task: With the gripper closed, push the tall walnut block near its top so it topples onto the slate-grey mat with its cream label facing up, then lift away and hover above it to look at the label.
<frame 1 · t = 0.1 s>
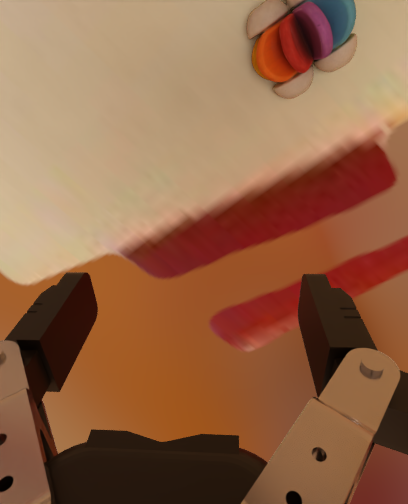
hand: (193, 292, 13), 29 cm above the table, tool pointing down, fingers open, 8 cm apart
multicoloured rounded cluster: (296, 38, 33), on the table
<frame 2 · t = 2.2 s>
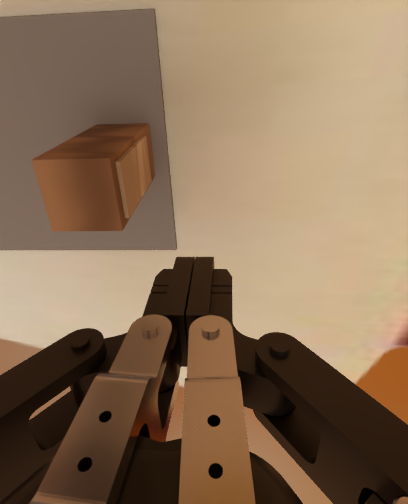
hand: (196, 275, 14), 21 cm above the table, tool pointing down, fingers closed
slate mat: (57, 151, 33), on the table
walnut block: (126, 151, 32), resting on slate mat
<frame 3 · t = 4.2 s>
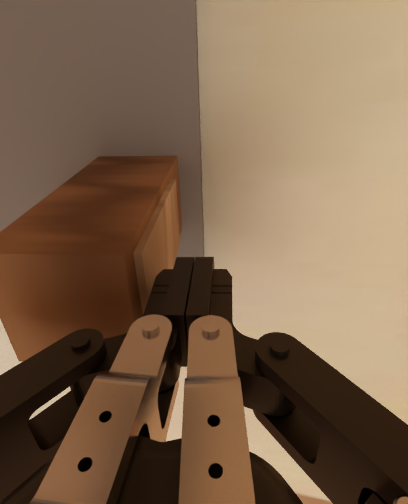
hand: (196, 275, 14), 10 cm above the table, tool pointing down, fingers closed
slate mat: (42, 192, 23), on the table
walnut block: (142, 194, 22), resting on slate mat, touching gripper
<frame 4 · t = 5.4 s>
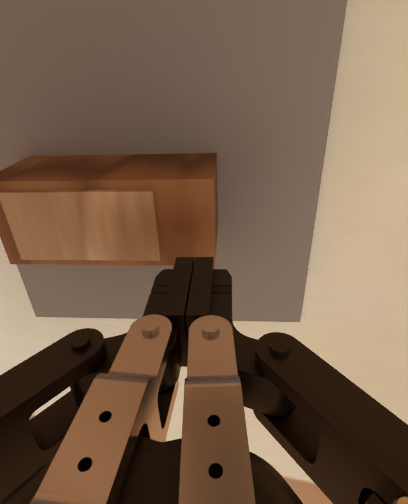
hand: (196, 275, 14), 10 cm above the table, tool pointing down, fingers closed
slate mat: (150, 190, 23), on the table
walnut block: (216, 206, 20), point 3 cm above the table, tilted 90°, touching slate mat
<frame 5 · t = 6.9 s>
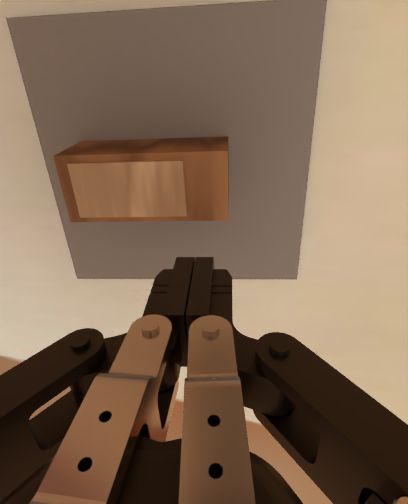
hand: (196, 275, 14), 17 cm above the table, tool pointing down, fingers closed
slate mat: (175, 167, 29), on the table
walnut block: (228, 176, 26), point 3 cm above the table, tilted 90°, touching slate mat
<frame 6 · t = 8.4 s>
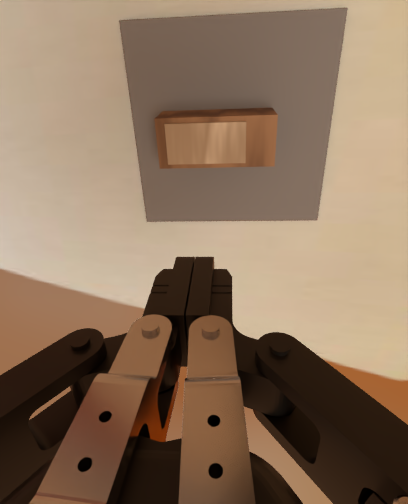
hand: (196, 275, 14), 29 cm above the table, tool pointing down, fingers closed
slate mat: (230, 131, 39), on the table
walnut block: (273, 136, 36), point 3 cm above the table, tilted 90°, touching slate mat
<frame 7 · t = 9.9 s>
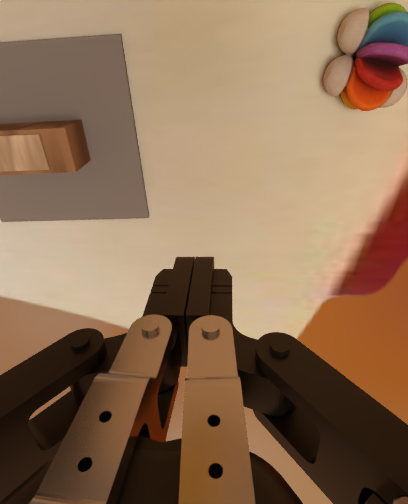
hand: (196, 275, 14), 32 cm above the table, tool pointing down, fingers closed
slate mat: (53, 141, 44), on the table
multicoloured rounded cluster: (365, 59, 37), on the table
walnut block: (78, 145, 41), point 3 cm above the table, tilted 90°, touching slate mat
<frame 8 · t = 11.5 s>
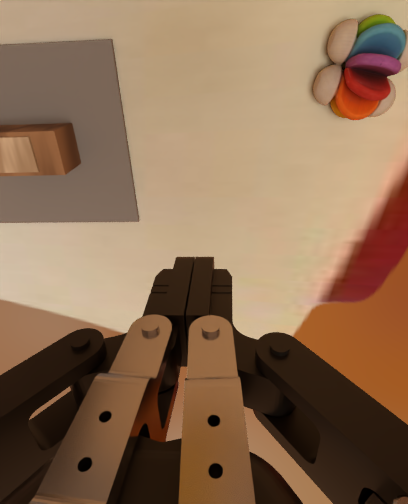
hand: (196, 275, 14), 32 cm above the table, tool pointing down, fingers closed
slate mat: (44, 143, 44), on the table
multicoloured rounded cluster: (355, 69, 38), on the table
walnut block: (68, 148, 41), point 3 cm above the table, tilted 90°, touching slate mat
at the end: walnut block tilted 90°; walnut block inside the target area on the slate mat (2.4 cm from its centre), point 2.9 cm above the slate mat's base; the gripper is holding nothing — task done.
